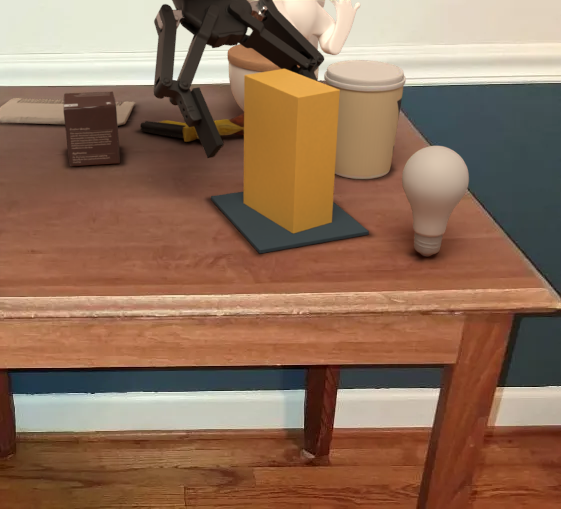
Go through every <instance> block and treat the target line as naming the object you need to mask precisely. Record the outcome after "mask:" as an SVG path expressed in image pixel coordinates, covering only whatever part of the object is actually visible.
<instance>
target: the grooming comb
mask: <svg viewBox="0 0 561 509" xmlns="http://www.w3.org/2000/svg"><path fill="white" fill-rule="evenodd" d="M115 103H116V111H117V125H118V126H122V125H125V124H126V123H127V121H128V119H129V118H130V115H131V113H132V111H133V108H134V106H135V104H136V102H135V101H126V100H125V101H120V102H119V100H118V101H116V102H115ZM0 123H8V124H9V123H12V124H13V123H14V124H15V123H17V124H19V123H20V124H23V123H24V124H44V125H45V124H47V125H49V124H50V125H65V120H64V100H63V99H58V98H57V100H56V99H54V100H53V98H52V99H50V98H48V99H46V98H45V99H43V98H41V99H39V98H38V99H36V98H34V99H33V98H22V97H12V98H11V99H9V100H7V101H6V102H5V103H4V104H2V105H1V106H0Z"/></svg>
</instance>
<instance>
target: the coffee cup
mask: <svg viewBox="0 0 561 509" xmlns="http://www.w3.org/2000/svg"><path fill="white" fill-rule="evenodd" d="M323 79H324V81H325V82H324V84H326V85H328V86H331V87H334V88H336V89H339V90H340V94H339V110H338V127H337V144H336V160H335V176H340V177H343V178H347V179H354V180H372V179H377V178H378V179H379V178H381V177H383V176H386V175H387V174H388V173H389V172H390V170H391V166H392V161H393V156H394V151H395V150H394V149H395V143H396V137H397V132H398V131H397V130H398V125H399V121H400V120H399V119H400V112H401V107H402V100H403V95H404V94H403V93H404V86H405V84H406V81H407V79H406V76H405V72H404V70H403V69H402V68H401V67H400V66H398V65H395V64H392V63H389V62H384V61H378V60H368V59H367V60H365V59H351V60H342V61H337V62H333V63H331V64H329V65H328V66H327V68H326V70H325V72H324V73H323Z"/></svg>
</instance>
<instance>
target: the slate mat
mask: <svg viewBox="0 0 561 509" xmlns="http://www.w3.org/2000/svg"><path fill="white" fill-rule="evenodd" d="M210 201H211V202H212V203H213V204H214V205H215V206H216V207H217V208H218V209H219V211H221V213H222V214H224V215H225V217H226V218H227V219H228V220H229V222H230V223H231V224H232V225H233V226H234V227H235V228H236V229H237V230H238V232H240V234H241V235H242V236H243V237H244V238H245V239H246V241H247V242H248V243H249V244H250V245H251V246H252V248H254V249H255V251H257V253H258V254H266V253H271V252H277V251H282V250H283V251H284V250H288V249H294V248H300V247H307V246H310V245H317V244H323V243H328V242H333V241H340V240H346V239H351V238H352V239H353V238H357V237H362V236H368V235H370V234H369V233H370V232H369V230H368V229H367V228H366V227H365V226H363V225H362V224H361V223H360V222H358V221H357V220H356V219H355V218H354V217H352V216H351V215H350V214H349V213H348V212H347V211H345V210H344V209H343V208H341V207H340V206H339V204H337V203H336V202H334V201H333V210H332V222H331V223H328V224H325V225H321V226H318V227H314V228H311V229H307V230H304V231H301V232H297V233H294V234H293V233H291V232H290V231H288V230H286V229H285V228H283V227H281V226H280V225H278V224H277V223H275V222H273V221H272V220H270V219H268V218H267V217H265V216H264V215H262V214H260V213H259V212H257V211H255V210H254V209H252V208H251V207H249V206H247V205H246V204H244V203H243V202H244V190H243V191H237V192H230V193H224V194H223V193H222V194H217V195H211V196H210Z"/></svg>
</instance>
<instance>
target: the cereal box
mask: <svg viewBox="0 0 561 509" xmlns="http://www.w3.org/2000/svg"><path fill="white" fill-rule="evenodd" d="M339 94H340V90H339V89H336V88H334V87H331V86H328V85H326V84H325V83H323V82H320V81H319V80H318V81H315V80H313V79H310V78H308V77H305V76H302V75H300V74H297V73H295V72H292V71H289V70H287V69H279V70H273V71H267V72H261V73H254V74H248V75H244V111H243V113H244V135H243V191H244V202H243V203H244V204H246V205H247V206H249V207H251V208H252V209H254V210H255V211H257V212H259V213H260V214H262V215H264V216H265V217H267V218H268V219H270V220H272V221H273V222H275V223H277V224H278V225H280V226H281V227H283V228H285V229H286V230H288V231H290V232H291V233H293V234H294V233H297V232H301V231H304V230H307V229H311V228H314V227H318V226H321V225H325V224H328V223H331V222H332V210H333V202H334V193H335V192H334V191H335V176H336V174H335V160H336V144H337V127H338V110H339Z"/></svg>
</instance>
